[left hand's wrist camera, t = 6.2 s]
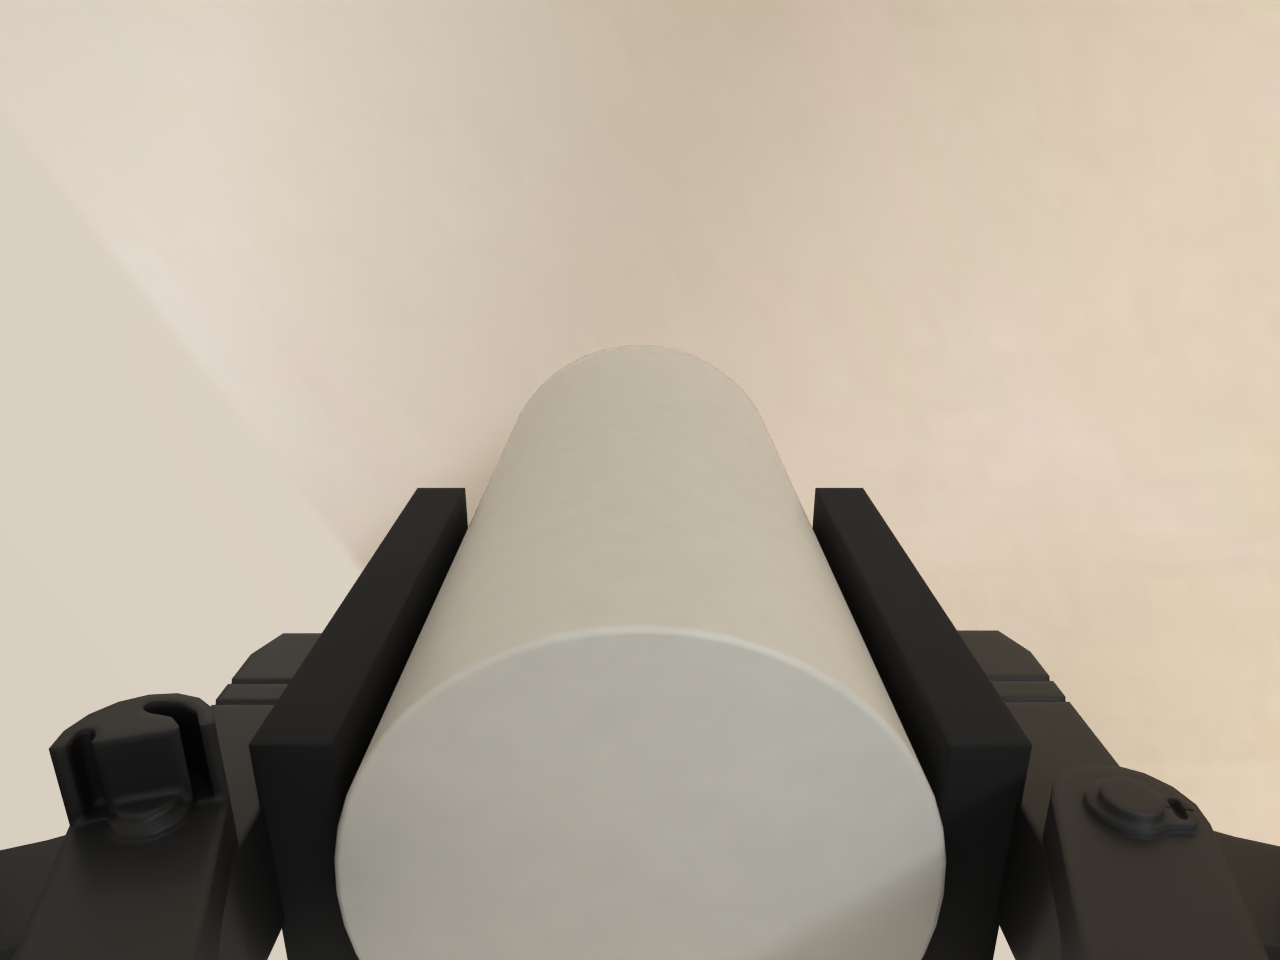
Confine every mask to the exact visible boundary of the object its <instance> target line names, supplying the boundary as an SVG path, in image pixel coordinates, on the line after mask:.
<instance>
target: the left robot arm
mask: <svg viewBox="0 0 1280 960" xmlns="http://www.w3.org/2000/svg"><path fill="white" fill-rule="evenodd" d="M467 530H468V522H467V509H466V495H465V488H417V490H416V491H415V493H414V494H413V496H412V497H411V499H410V500H409V502H408V503H407V505H406V507H405V508H404V510H403V511H402V513H401V514H400V516H399V517H398V519H397V520H396V522H395V523H394V525H393V526H392V528H391V529H390V531H389V532H388V534H387V535H386V537H385V538H384V540H383V541H382V543H381V544H380V546H379V547H378V549H377V551H376V552H375V554H374V555H373V557H372V558H371V560H370V561H369V563H368V564H367V566H366V567H365V569H364V570H363V572H362V573H361V575H360V576H359V578H358V579H357V581H356V582H355V584H354V585H353V587H352V588H351V590H350V592H349V593H348V595H347V596H346V598H345V599H344V601H343V602H342V604H341V605H340V607H339V608H338V610H337V611H336V613H335V614H334V616H333V617H332V619H331V620H330V622H329V623H328V625H327V626H326V628H325V629H324V631H323V632H322V633H283V634H282V635H280V636H278V637H277V638H275V639H274V640H272V641H271V642H269V643H268V644H266V645H265V646H263V647H262V648H260V649H259V650H257V651H256V652H254V653H253V654H251V655H250V656H249V658H248V659H247V660H246V662H245V663H244V664H243V665H242V667H241V668H240V669H239V671H238V672H237V673H236V674H235V676H234V677H233V678H232V684H228V685H227V686H226V687H225V689H224V690H223V691H222V693H221V694H220V695H219V696H218V698H217V699H216V705H212V706H211V707H210V706H209V705H208V704H206V703H205V702H204V701H203V700H201V699H200V698H197V697H193V696H188V695H183V694H178V693H174V694H153V695H146V696H142V697H137V698H133V699H129V700H125V701H121V702H117V703H115V704H112V705H110V706H108V707H105V708H103V709H101V710H98V711H96V712H93V713H91V714H89V715H87V716H86V717H84V718H83V719H81V720H80V721H78V722H77V723H75V724H74V725H72V726H71V727H69V728H68V729H66V730H65V731H64V732H63V733H62V734H61V735H60V736H59V737H58V739H57V740H56V741H55V742H54V743H53V745H52V746H51V747H50V748H49V752H50V755H51V759H52V762H53V766H54V770H55V773H56V777H57V780H58V784H59V788H60V791H61V795H62V798H63V802H64V806H65V809H66V813H67V817H68V820H69V824H70V826H69V829H68V831H67V833H66V835H65V836H61V837H57V838H54V839H50V840H46V841H42V842H37V843H33V844H28V845H23V846H19V847H14V848H9V849H5V850H0V960H267V959H268V957H269V955H270V952H271V950H272V948H273V946H274V944H275V942H276V939H277V937H278V935H279V933H280V931H281V929H282V931H283V937H284V942H285V948H286V953H287V959H288V960H359V958H358V956H357V955H356V953H355V950H354V948H353V945H352V943H351V940H350V938H349V936H348V933H347V931H346V928H345V926H344V922H343V918H342V914H341V910H340V905H339V901H338V897H337V891H336V876H335V861H334V858H335V848H336V838H337V828H338V824H339V820H340V817H341V813H342V810H343V806H344V802H345V799H346V795H347V793H348V791H349V789H350V786H351V784H352V782H353V780H354V778H355V775H356V773H357V771H358V769H359V767H360V765H361V762H362V760H363V758H364V756H365V754H366V751H367V749H368V747H369V745H370V743H371V740H372V738H373V736H374V734H375V732H376V729H377V727H378V725H379V723H380V721H381V718H382V716H383V714H384V712H385V710H386V707H387V705H388V703H389V701H390V699H391V696H392V694H393V692H394V690H395V688H396V685H397V683H398V681H399V679H400V677H401V674H402V672H403V670H404V668H405V666H406V664H407V661H408V659H409V657H410V655H411V653H412V650H413V648H414V646H415V644H416V642H417V639H418V637H419V635H420V633H421V631H422V628H423V626H424V624H425V622H426V620H427V617H428V615H429V613H430V611H431V609H432V606H433V604H434V602H435V600H436V598H437V595H438V593H439V591H440V589H441V587H442V584H443V582H444V580H445V578H446V576H447V573H448V571H449V569H450V567H451V565H452V563H453V560H454V558H455V556H456V554H457V552H458V549H459V547H460V545H461V543H462V541H463V538H464V536H465V534H466V532H467ZM813 531H814V533H815V536H816V538H817V540H818V542H819V544H820V546H821V549H822V551H823V553H824V555H825V557H826V560H827V562H828V564H829V566H830V568H831V571H832V573H833V575H834V577H835V579H836V582H837V584H838V586H839V588H840V590H841V592H842V595H843V597H844V599H845V601H846V603H847V606H848V608H849V610H850V612H851V614H852V617H853V619H854V621H855V623H856V625H857V628H858V630H859V632H860V634H861V636H862V638H863V641H864V643H865V645H866V647H867V649H868V652H869V654H870V656H871V658H872V660H873V663H874V665H875V667H876V669H877V671H878V674H879V676H880V678H881V680H882V682H883V684H884V687H885V689H886V691H887V693H888V695H889V698H890V700H891V702H892V704H893V706H894V709H895V711H896V713H897V715H898V717H899V719H900V722H901V724H902V726H903V728H904V730H905V733H906V735H907V737H908V739H909V741H910V744H911V746H912V748H913V750H914V752H915V755H916V757H917V759H918V761H919V763H920V765H921V768H922V770H923V772H924V774H925V776H926V779H927V781H928V783H929V785H930V787H931V790H932V792H933V794H934V796H935V800H936V803H937V807H938V811H939V814H940V818H941V822H942V825H943V831H944V842H945V852H946V870H945V885H944V895H943V900H942V904H941V908H940V912H939V916H938V920H937V925H936V927H935V930H934V932H933V935H932V937H931V939H930V942H929V944H928V947H927V949H926V952H925V954H924V956H923V957H922V959H921V960H993V956H994V951H995V945H996V940H997V934H998V929H999V925H1000V927H1001V929H1002V932H1003V934H1004V936H1005V938H1006V940H1007V942H1008V945H1009V947H1010V949H1011V951H1012V953H1013V955H1014V957H1015V960H1280V846H1275V845H1270V844H1266V843H1261V842H1257V841H1252V840H1247V839H1243V838H1238V837H1233V836H1230V835H1226V834H1223V833H1219V832H1216V831H1213V829H1212V827H1211V825H1210V823H1209V822H1208V820H1207V819H1206V818H1205V816H1204V815H1203V814H1202V812H1201V811H1200V809H1199V808H1198V807H1197V805H1196V804H1195V803H1193V802H1192V801H1191V800H1189V799H1188V798H1187V797H1185V796H1184V795H1183V794H1181V793H1180V792H1179V791H1178V790H1176V789H1175V788H1174V787H1172V786H1170V785H1168V784H1166V783H1164V782H1162V781H1160V780H1157V779H1155V778H1153V777H1151V776H1149V775H1147V774H1145V773H1142V772H1138V771H1134V770H1130V769H1127V768H1123V767H1120V766H1119V765H1118V764H1117V763H1116V761H1115V760H1114V759H1113V757H1112V756H1111V755H1110V754H1109V752H1108V751H1107V750H1106V748H1105V747H1104V746H1103V745H1102V743H1101V742H1100V741H1099V739H1098V738H1097V737H1096V736H1095V734H1094V733H1093V732H1092V730H1091V729H1090V728H1089V727H1088V725H1087V724H1086V723H1085V721H1084V720H1083V719H1082V718H1081V716H1080V715H1079V714H1078V712H1077V711H1076V710H1075V709H1074V707H1073V706H1072V705H1071V703H1070V702H1066V701H1065V696H1064V694H1063V693H1062V692H1061V691H1060V689H1059V688H1058V687H1057V685H1056V684H1055V683H1054V682H1053V681H1050V680H1049V675H1048V674H1047V673H1046V671H1045V670H1044V669H1043V667H1042V666H1041V665H1040V664H1039V662H1038V661H1037V660H1036V658H1035V657H1034V656H1033V655H1032V653H1031V652H1030V651H1028V650H1027V649H1025V648H1024V647H1022V646H1021V645H1019V644H1018V643H1016V642H1015V641H1013V640H1011V639H1010V638H1008V637H1007V636H1005V635H1004V634H1002V633H1001V632H999V631H957V630H956V628H955V627H954V625H953V624H952V622H951V621H950V619H949V618H948V616H947V615H946V613H945V612H944V610H943V609H942V607H941V606H940V604H939V603H938V601H937V600H936V598H935V597H934V595H933V594H932V592H931V591H930V589H929V588H928V586H927V584H926V583H925V581H924V580H923V578H922V577H921V575H920V574H919V572H918V571H917V569H916V568H915V566H914V565H913V563H912V562H911V560H910V559H909V557H908V556H907V554H906V553H905V551H904V550H903V548H902V547H901V545H900V544H899V542H898V541H897V539H896V537H895V536H894V534H893V533H892V531H891V530H890V528H889V527H888V525H887V524H886V522H885V521H884V519H883V518H882V516H881V515H880V513H879V512H878V510H877V509H876V507H875V506H874V504H873V503H872V501H871V500H870V498H869V497H868V495H867V494H866V492H865V490H864V489H863V488H816V489H815V503H814V516H813Z"/></svg>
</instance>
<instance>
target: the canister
mask: <svg viewBox="0 0 1280 960" xmlns="http://www.w3.org/2000/svg"><path fill="white" fill-rule="evenodd" d="M334 861H335V876H336V891H337V897H338V901H339V905H340V910H341V914H342V918H343V922H344V926H345V928H346V931H347V933H348V936H349V938H350V940H351V943H352V945H353V948H354V950H355V953H356V955H357V956H358V958H359V960H921V959H922V957H923V956H924V954H925V952H926V949H927V947H928V944H929V942H930V939H931V937H932V935H933V932H934V930H935V927H936V925H937V920H938V916H939V912H940V908H941V904H942V900H943V895H944V885H945V870H946V852H945V842H944V831H943V825H942V822H941V818H940V814H939V811H938V807H937V803H936V800H935V796H934V794H933V792H932V790H931V787H930V785H929V783H928V781H927V779H926V776H925V774H924V772H923V770H922V768H921V765H920V763H919V761H918V759H917V757H916V755H915V752H914V750H913V748H912V746H911V744H910V741H909V739H908V737H907V735H906V733H905V730H904V728H903V726H902V724H901V722H900V719H899V717H898V715H897V713H896V711H895V709H894V706H893V704H892V702H891V700H890V698H889V695H888V693H887V691H886V689H885V687H884V684H883V682H882V680H881V678H880V676H879V674H878V671H877V669H876V667H875V665H874V663H873V660H872V658H871V656H870V654H869V652H868V649H867V647H866V645H865V643H864V641H863V638H862V636H861V634H860V632H859V630H858V628H857V625H856V623H855V621H854V619H853V617H852V614H851V612H850V610H849V608H848V606H847V603H846V601H845V599H844V597H843V595H842V592H841V590H840V588H839V586H838V584H837V582H836V579H835V577H834V575H833V573H832V571H831V568H830V566H829V564H828V562H827V560H826V557H825V555H824V553H823V551H822V549H821V546H820V544H819V542H818V540H817V538H816V536H815V533H814V531H813V529H812V527H811V525H810V522H809V520H808V518H807V516H806V514H805V511H804V509H803V507H802V505H801V503H800V500H799V498H798V496H797V494H796V492H795V490H794V487H793V485H792V483H791V481H790V479H789V476H788V474H787V472H786V470H785V468H784V465H783V463H782V461H781V459H780V457H779V455H778V452H777V450H776V448H775V446H774V444H773V441H772V439H771V437H770V435H769V433H768V430H767V428H766V426H765V424H764V422H763V420H762V417H761V415H760V413H759V412H758V410H757V409H756V407H755V405H754V404H753V402H752V401H751V399H750V398H749V397H748V396H747V394H746V393H745V392H744V391H743V390H742V389H741V387H740V386H739V385H738V384H737V383H735V382H734V381H733V380H732V379H731V378H730V377H729V376H728V375H726V374H725V373H724V372H722V371H721V370H719V369H718V368H716V367H715V366H713V365H712V364H710V363H708V362H706V361H704V360H702V359H700V358H698V357H696V356H694V355H691V354H688V353H685V352H682V351H679V350H675V349H670V348H665V347H660V346H648V345H633V346H620V347H615V348H610V349H605V350H601V351H598V352H595V353H592V354H589V355H586V356H584V357H582V358H580V359H578V360H576V361H574V362H572V363H570V364H569V365H567V366H566V367H564V368H563V369H561V370H560V371H558V372H557V373H555V374H554V375H553V376H552V377H550V378H549V379H548V380H547V381H546V382H545V383H544V384H543V385H541V387H540V388H539V389H538V390H537V391H536V392H535V394H534V395H533V396H532V397H531V398H530V400H529V401H528V403H527V404H526V406H525V407H524V409H523V410H522V412H521V414H520V416H519V418H518V420H517V422H516V424H515V426H514V429H513V431H512V433H511V435H510V437H509V440H508V442H507V444H506V446H505V448H504V451H503V453H502V455H501V457H500V459H499V462H498V464H497V466H496V468H495V470H494V472H493V475H492V477H491V479H490V481H489V483H488V486H487V488H486V490H485V492H484V494H483V497H482V499H481V501H480V503H479V505H478V508H477V510H476V512H475V514H474V516H473V519H472V521H471V523H470V525H469V527H468V530H467V532H466V534H465V536H464V538H463V541H462V543H461V545H460V547H459V549H458V552H457V554H456V556H455V558H454V560H453V563H452V565H451V567H450V569H449V571H448V573H447V576H446V578H445V580H444V582H443V584H442V587H441V589H440V591H439V593H438V595H437V598H436V600H435V602H434V604H433V606H432V609H431V611H430V613H429V615H428V617H427V620H426V622H425V624H424V626H423V628H422V631H421V633H420V635H419V637H418V639H417V642H416V644H415V646H414V648H413V650H412V653H411V655H410V657H409V659H408V661H407V664H406V666H405V668H404V670H403V672H402V674H401V677H400V679H399V681H398V683H397V685H396V688H395V690H394V692H393V694H392V696H391V699H390V701H389V703H388V705H387V707H386V710H385V712H384V714H383V716H382V718H381V721H380V723H379V725H378V727H377V729H376V732H375V734H374V736H373V738H372V740H371V743H370V745H369V747H368V749H367V751H366V754H365V756H364V758H363V760H362V762H361V765H360V767H359V769H358V771H357V773H356V775H355V778H354V780H353V782H352V784H351V786H350V789H349V791H348V793H347V795H346V799H345V802H344V806H343V810H342V813H341V817H340V820H339V824H338V828H337V838H336V848H335V858H334Z"/></svg>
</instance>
